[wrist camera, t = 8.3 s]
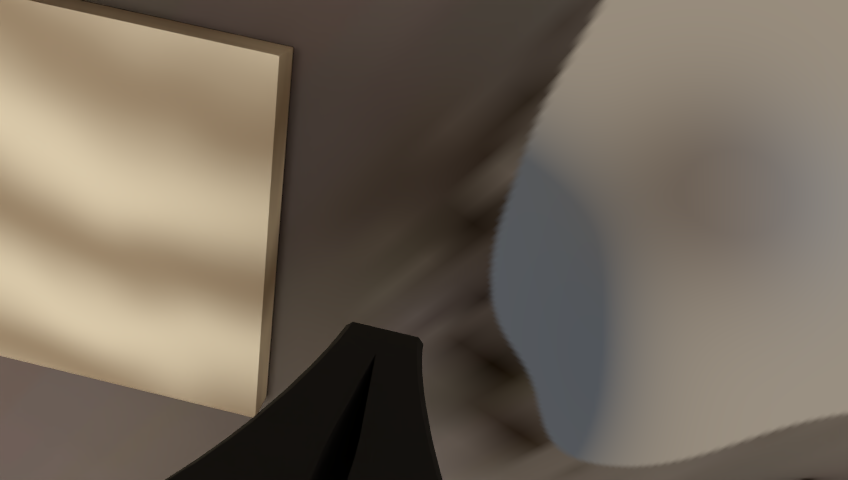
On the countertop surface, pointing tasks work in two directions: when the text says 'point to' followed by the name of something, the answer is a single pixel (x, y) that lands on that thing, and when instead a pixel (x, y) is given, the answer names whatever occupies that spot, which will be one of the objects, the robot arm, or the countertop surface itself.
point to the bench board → (140, 199)
